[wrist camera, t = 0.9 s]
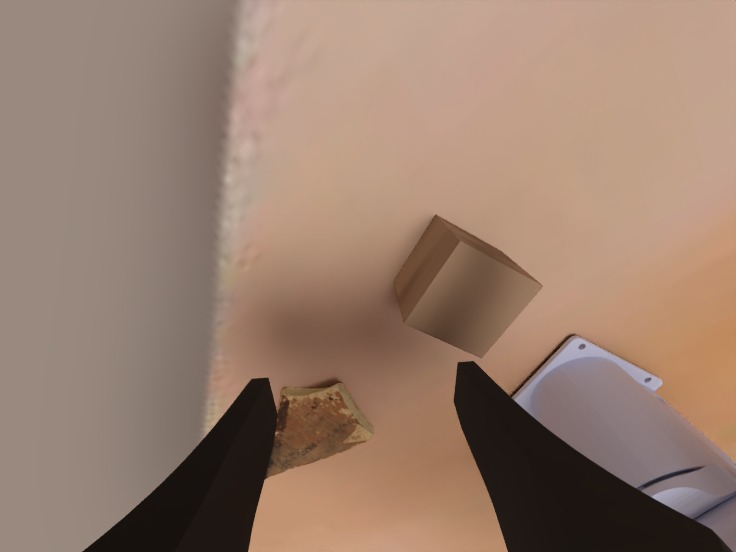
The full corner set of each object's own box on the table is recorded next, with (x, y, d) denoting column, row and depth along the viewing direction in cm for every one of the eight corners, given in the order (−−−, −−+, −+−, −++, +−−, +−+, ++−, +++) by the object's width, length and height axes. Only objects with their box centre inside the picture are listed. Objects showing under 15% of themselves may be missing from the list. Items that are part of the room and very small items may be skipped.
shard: (267, 463, 28) (261, 484, 27) (215, 409, 25) (205, 428, 24) (374, 425, 27) (375, 444, 25) (332, 362, 24) (331, 379, 22)
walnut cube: (500, 250, 20) (543, 285, 15) (455, 310, 22) (481, 358, 17) (435, 214, 19) (460, 240, 14) (393, 280, 20) (403, 323, 16)
